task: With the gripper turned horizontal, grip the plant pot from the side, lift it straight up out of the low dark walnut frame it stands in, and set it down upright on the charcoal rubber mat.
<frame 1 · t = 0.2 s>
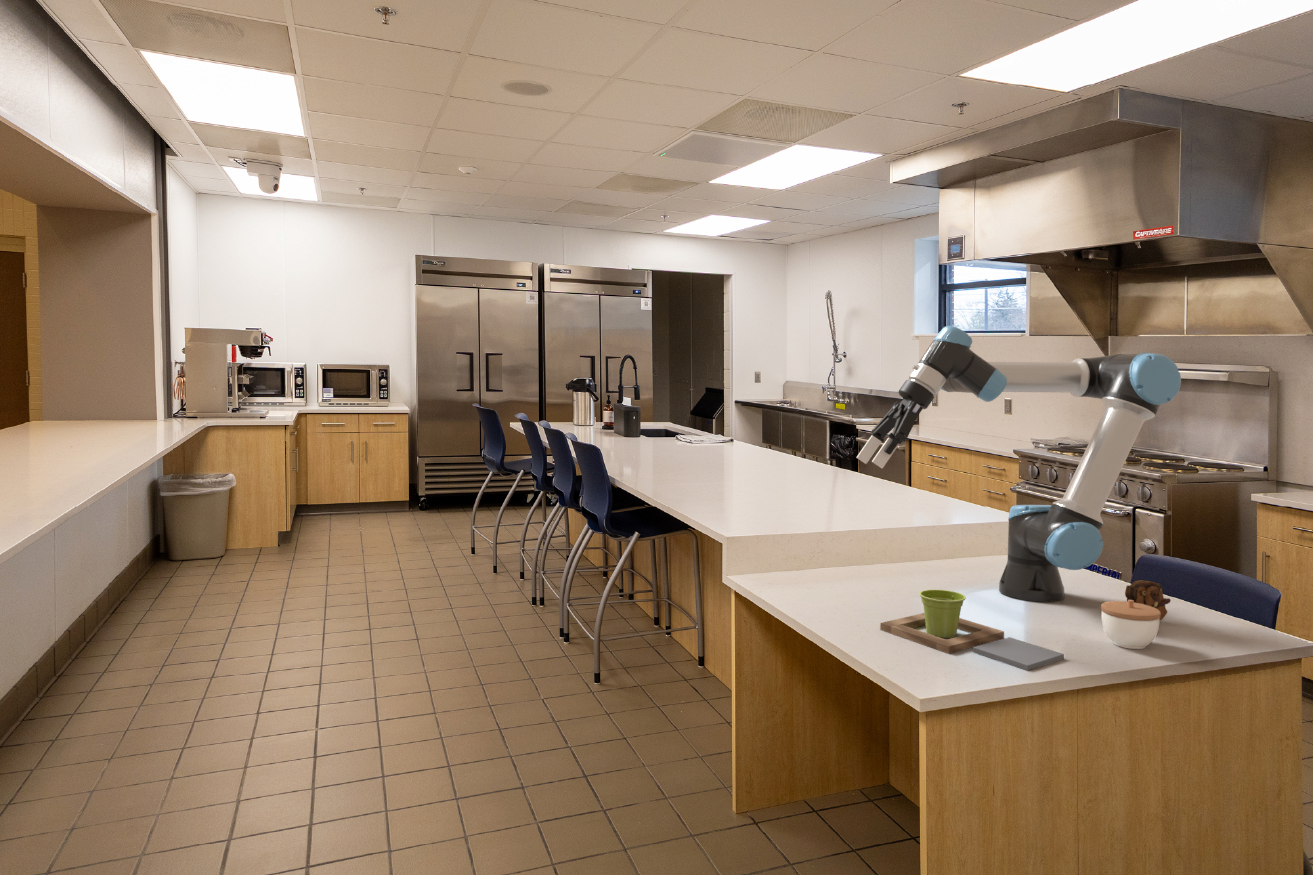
hand: (868, 463, 189), 35 cm above the counter, tool tilted 35°, fingers open, 13 cm apart
walnut frame: (941, 633, 176), on the counter
plant pot: (941, 634, 176), resting in walnut frame
charcoal mat: (1017, 655, 163), on the counter
wooden carving: (1144, 626, 183), on the counter
lidded jar: (1128, 645, 170), on the counter
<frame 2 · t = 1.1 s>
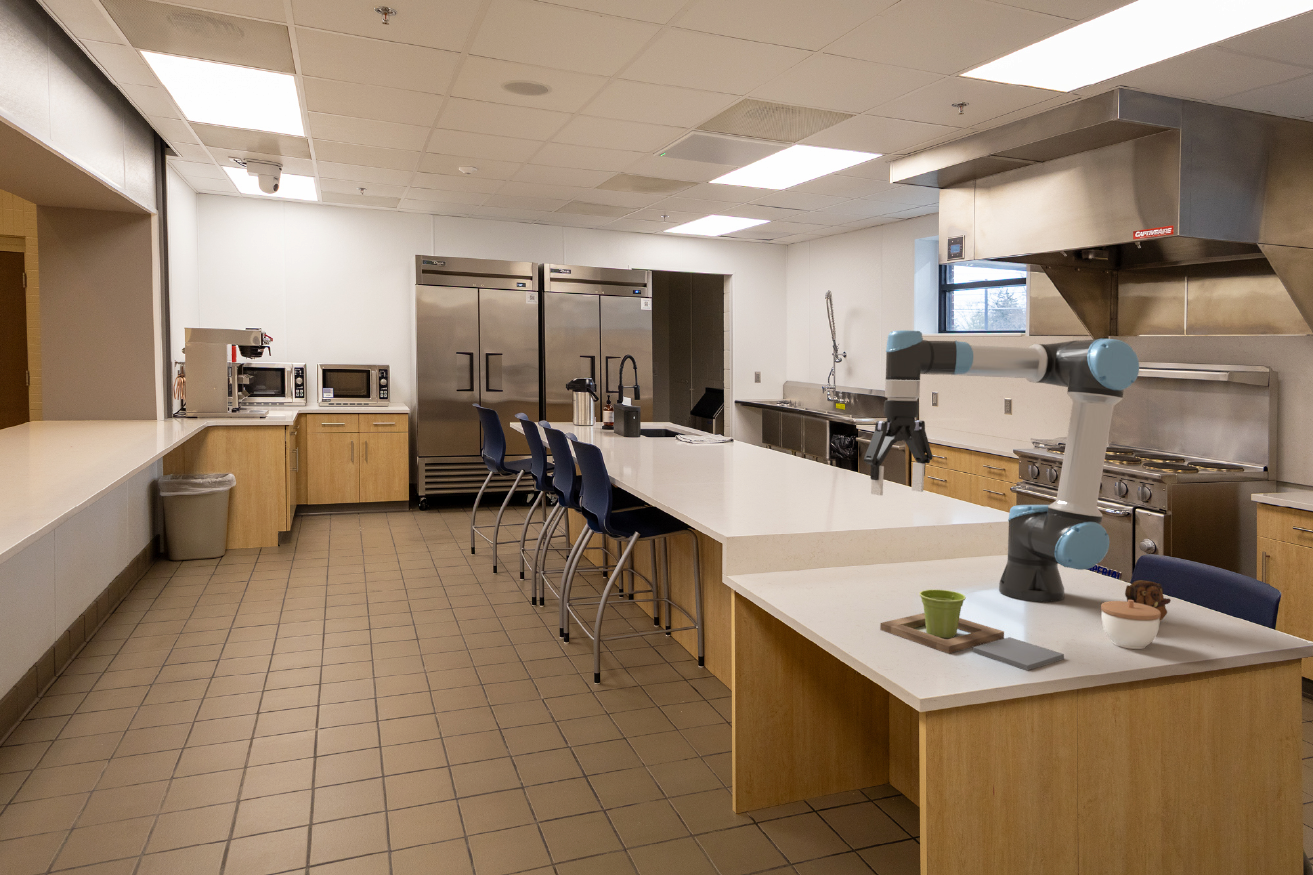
hand: (897, 492, 185), 29 cm above the counter, tool pointing down, fingers open, 13 cm apart
nothing on the counter moved.
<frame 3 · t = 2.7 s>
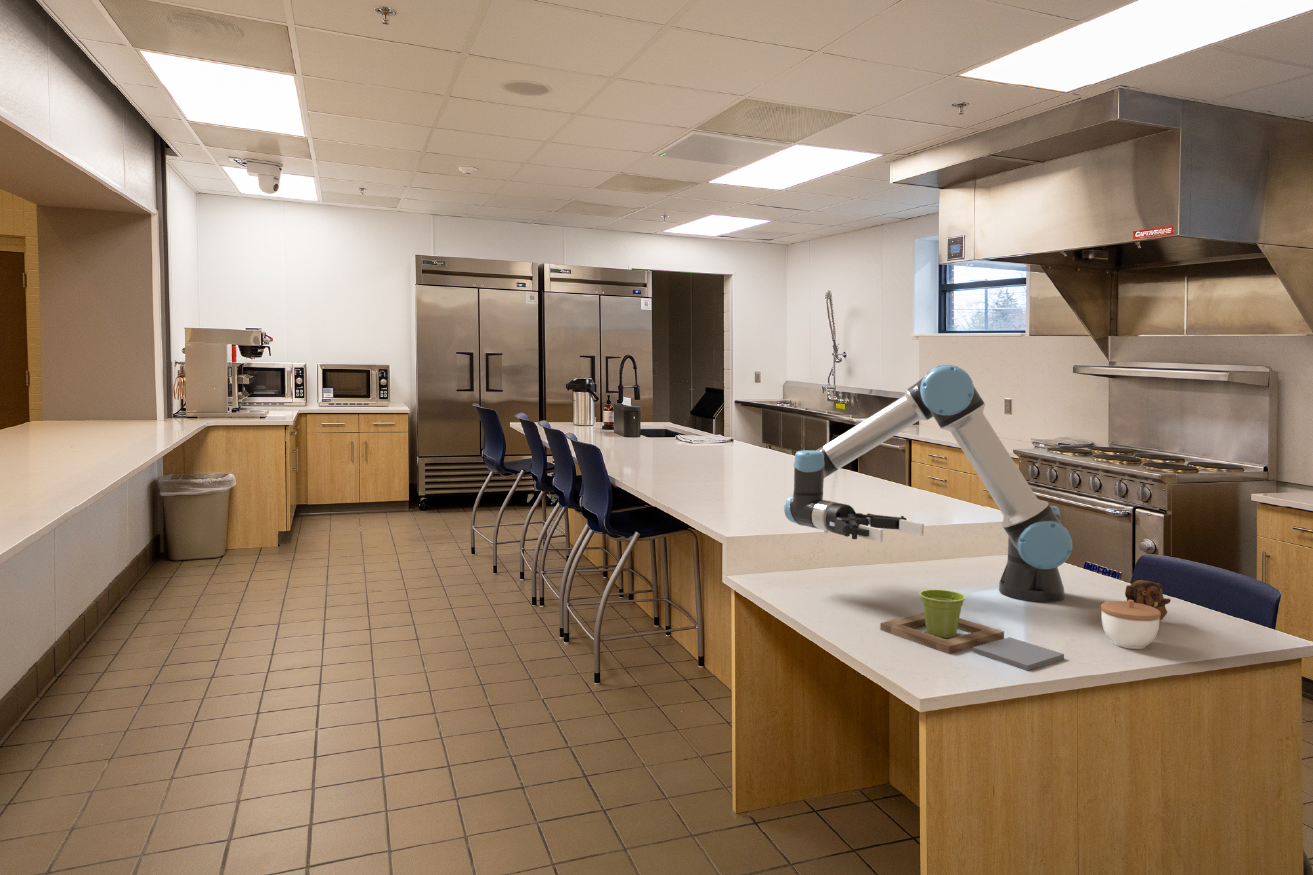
hand: (902, 532, 184), 20 cm above the counter, tool horizontal, fingers open, 13 cm apart
nothing on the counter moved.
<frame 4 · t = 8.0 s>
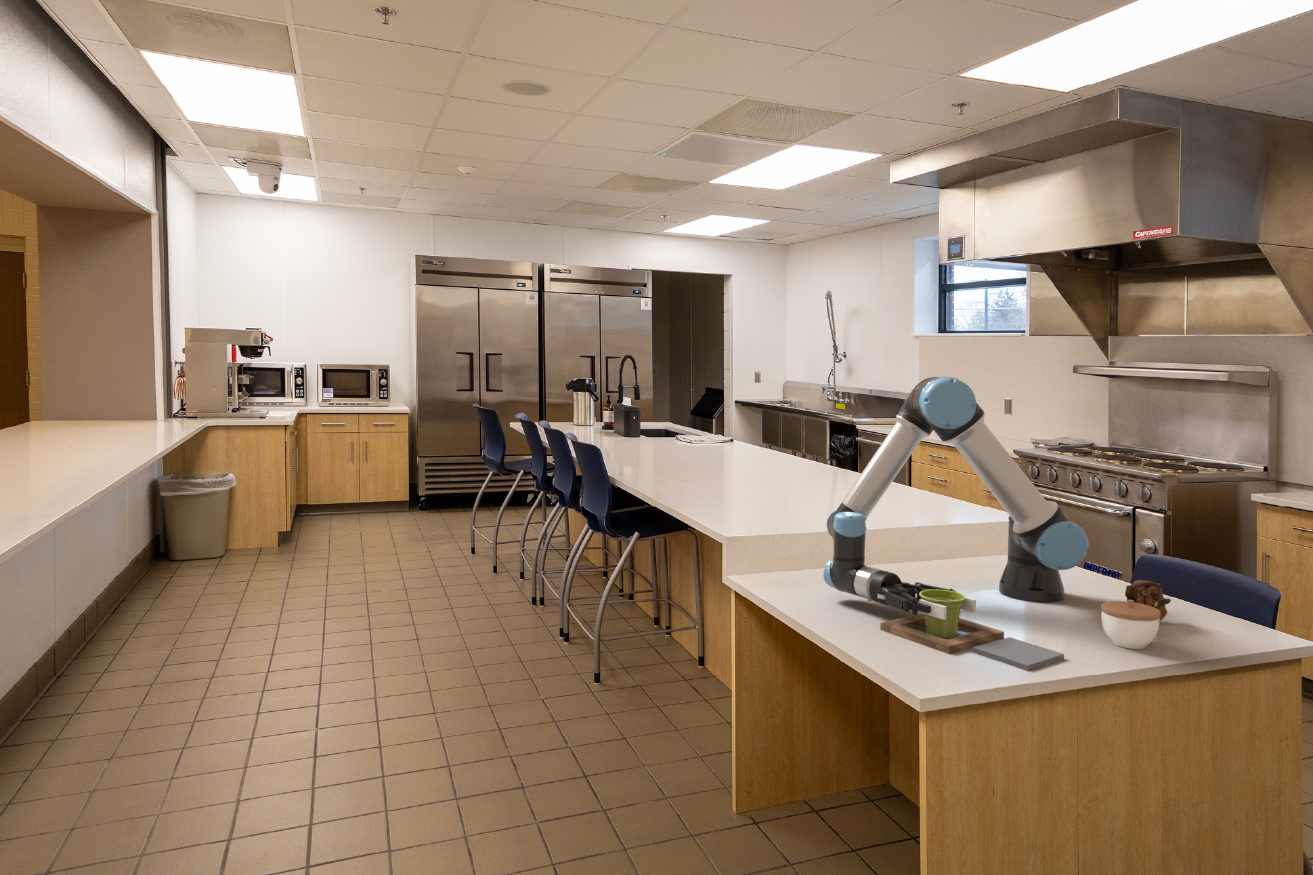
hand: (960, 609, 172), 7 cm above the counter, tool horizontal, fingers closed on plant pot, 9 cm apart
plant pot: (941, 634, 176), resting in walnut frame, touching gripper
everything else where it was.
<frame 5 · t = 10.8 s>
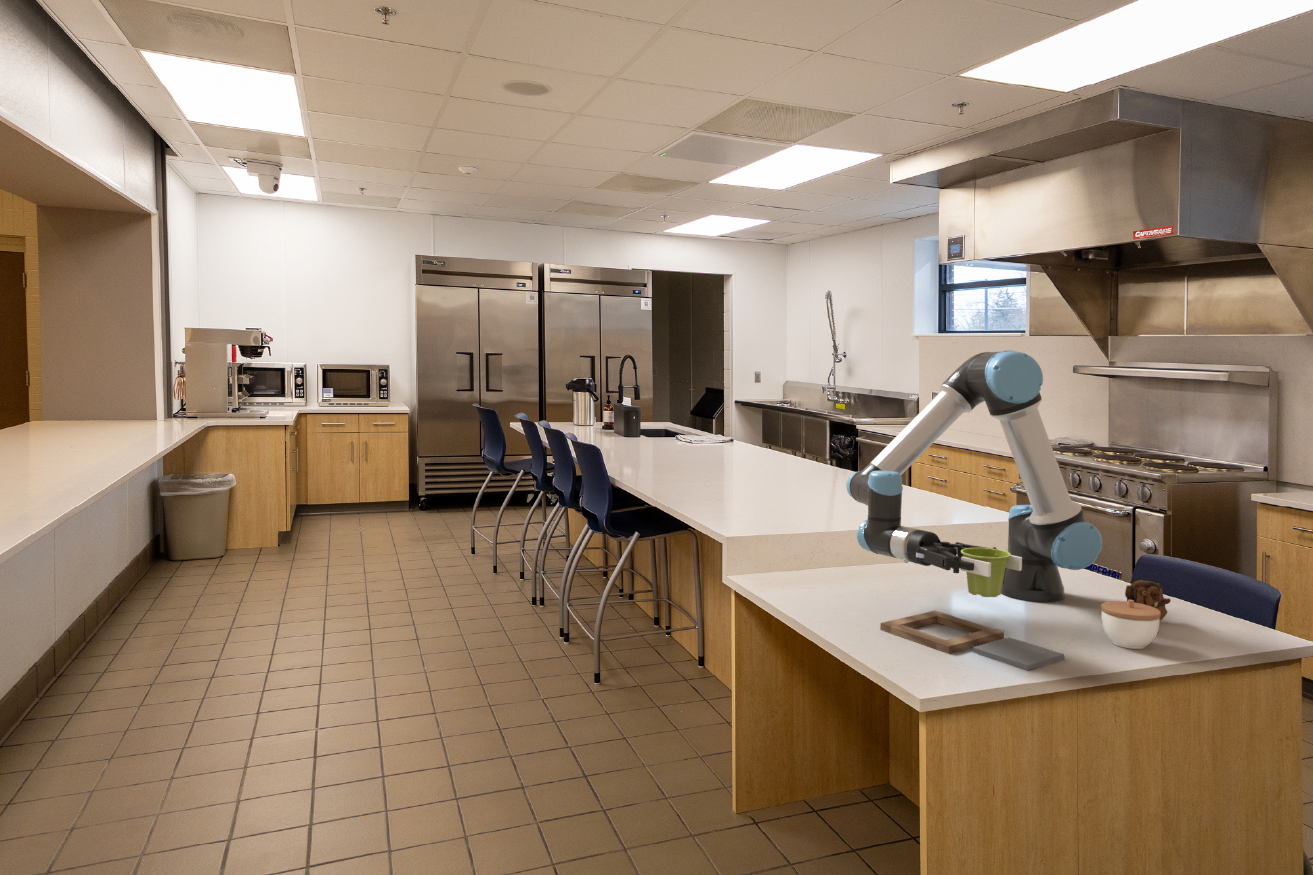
hand: (1005, 567, 162), 18 cm above the counter, tool horizontal, fingers closed on plant pot, 9 cm apart
plant pot: (984, 594, 166), point 11 cm above the counter, touching gripper
everything else where it was.
when the fingers open (9 cm above the counter, at t = 13.5 s): plant pot moves 3 cm, resting on charcoal mat.
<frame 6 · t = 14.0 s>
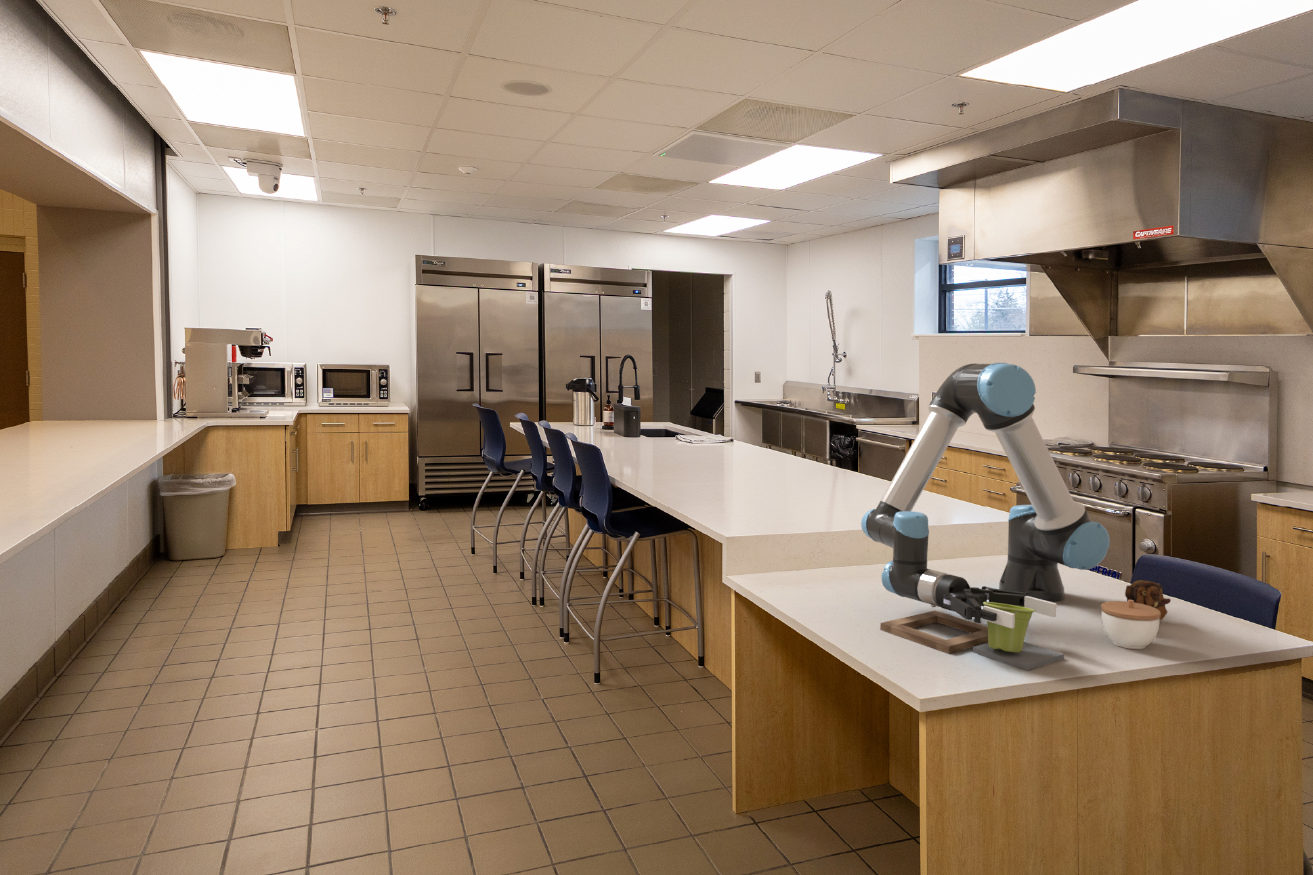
hand: (1034, 615, 159), 9 cm above the counter, tool horizontal, fingers open, 13 cm apart
plant pot: (1004, 650, 162), point 1 cm above the counter, touching charcoal mat, gripper
everything else where it was.
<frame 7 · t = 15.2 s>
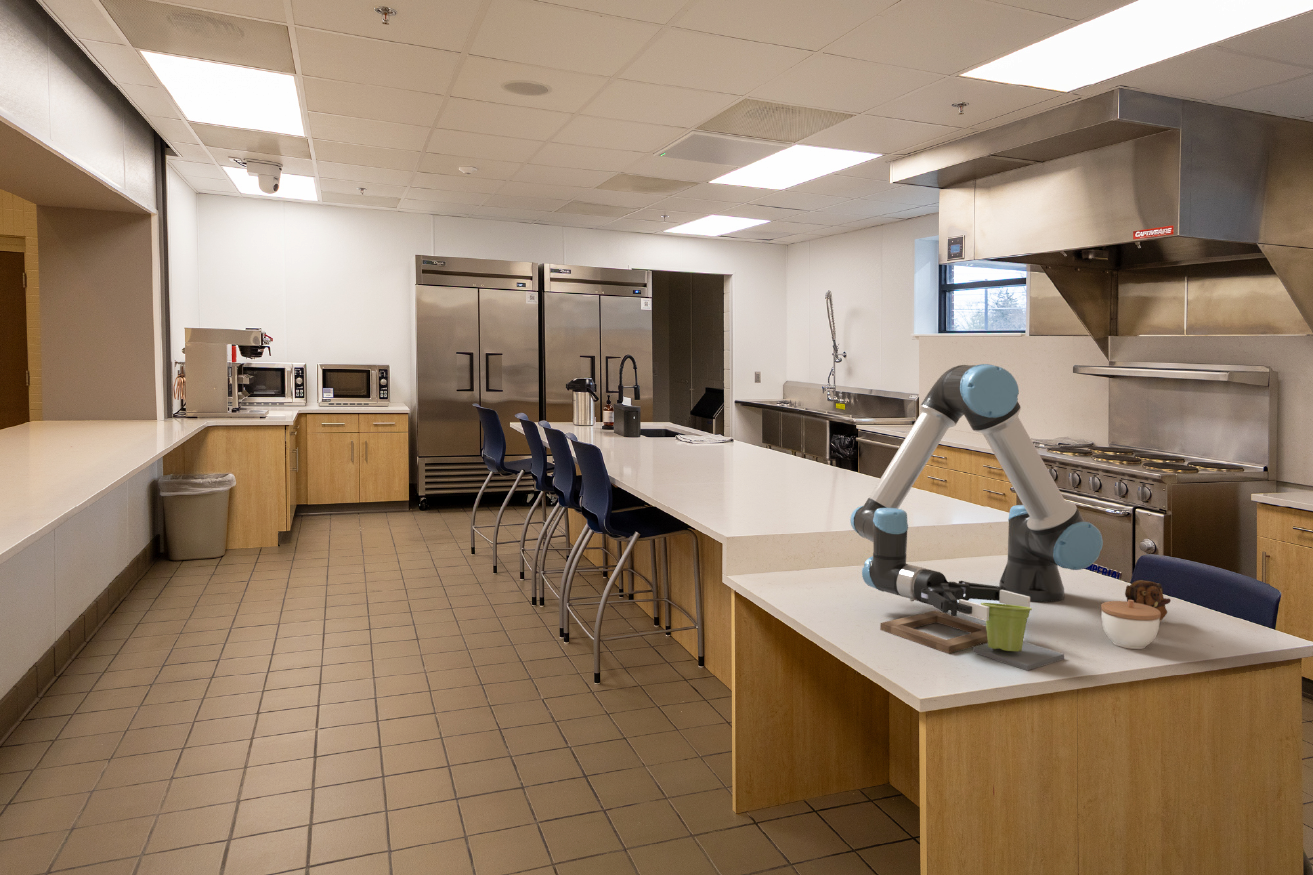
hand: (1009, 608, 164), 9 cm above the counter, tool horizontal, fingers open, 13 cm apart
plant pot: (1004, 650, 162), point 1 cm above the counter, touching charcoal mat
everything else where it was.
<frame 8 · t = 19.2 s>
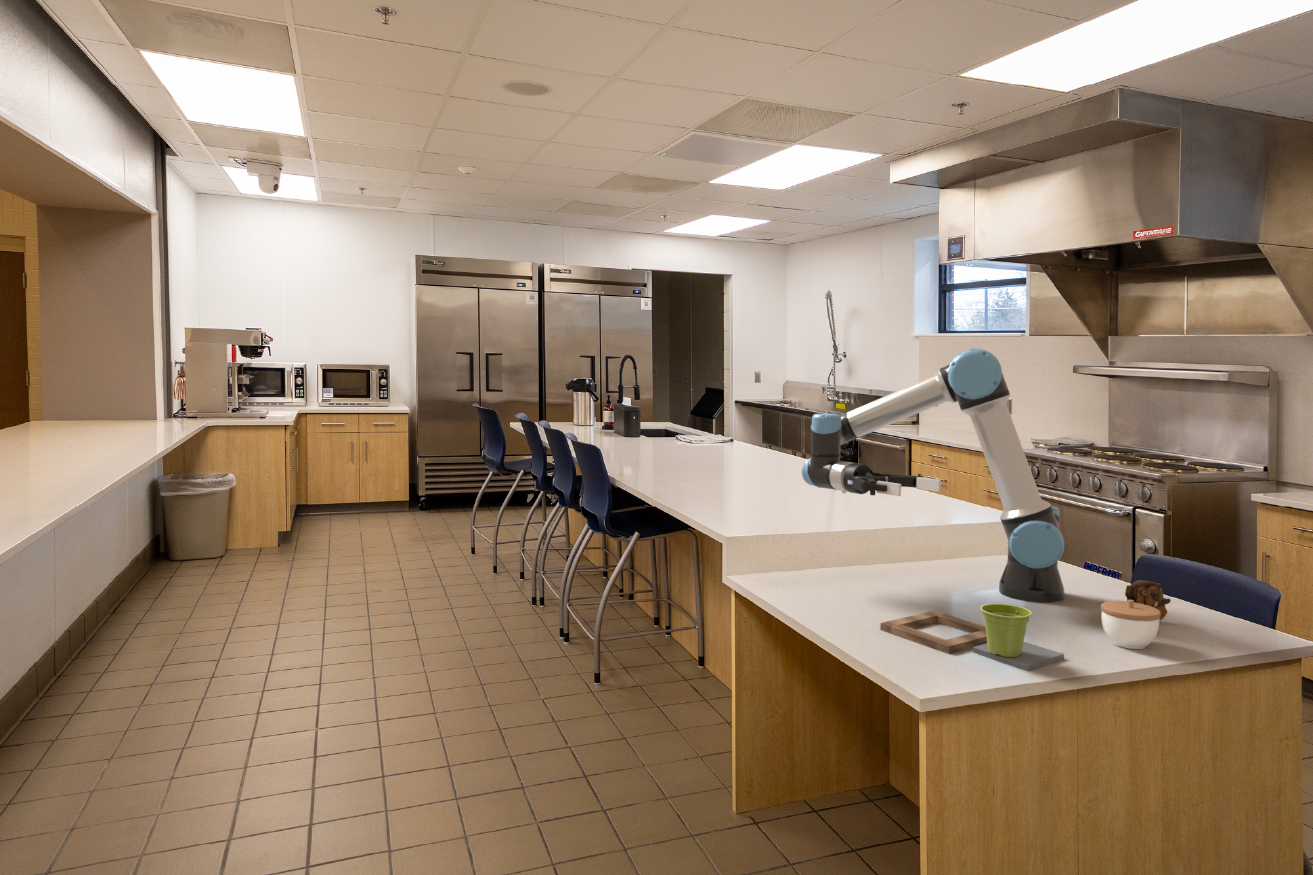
hand: (920, 488, 187), 30 cm above the counter, tool horizontal, fingers open, 13 cm apart
at the end: plant pot inside the target area on the charcoal mat (3.5 cm from its centre), point 0.8 cm above the charcoal mat's base; plant pot tilted 0°; plant pot touching charcoal mat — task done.
